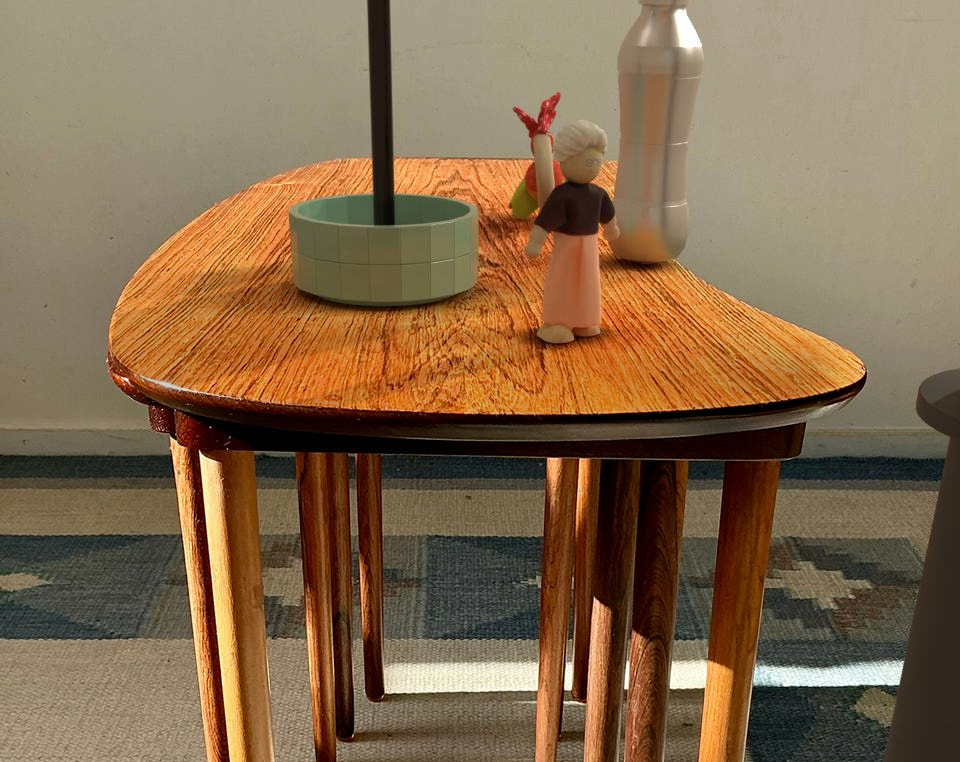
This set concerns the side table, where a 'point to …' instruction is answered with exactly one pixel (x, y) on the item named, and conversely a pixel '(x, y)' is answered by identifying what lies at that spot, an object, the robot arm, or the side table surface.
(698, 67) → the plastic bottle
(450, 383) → the side table surface
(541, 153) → the bird rattle
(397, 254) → the bowl
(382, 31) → the paper towel stand
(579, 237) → the grandmother figurine
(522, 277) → the side table surface
